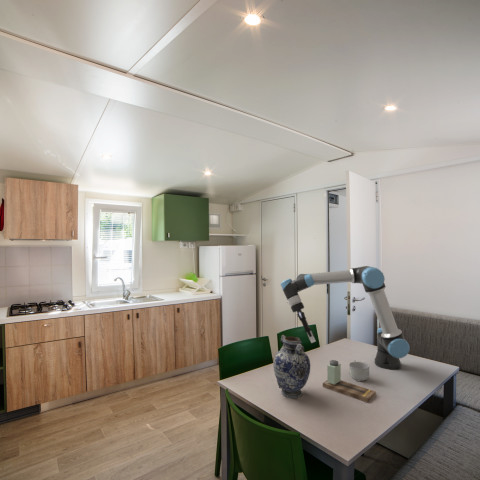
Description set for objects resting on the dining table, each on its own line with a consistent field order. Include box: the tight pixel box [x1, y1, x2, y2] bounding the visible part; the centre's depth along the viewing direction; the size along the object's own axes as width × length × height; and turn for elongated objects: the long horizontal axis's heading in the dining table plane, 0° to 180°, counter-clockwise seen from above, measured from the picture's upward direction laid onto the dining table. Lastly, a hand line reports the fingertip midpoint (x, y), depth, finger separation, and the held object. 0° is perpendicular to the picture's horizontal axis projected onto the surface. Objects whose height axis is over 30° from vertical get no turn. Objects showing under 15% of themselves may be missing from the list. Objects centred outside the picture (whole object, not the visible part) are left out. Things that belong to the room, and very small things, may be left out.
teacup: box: [348, 360, 370, 382], centre depth 179 cm, size 14×11×8 cm
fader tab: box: [327, 359, 342, 385], centre depth 168 cm, size 4×7×11 cm, turn 136°
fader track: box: [322, 379, 377, 403], centre depth 163 cm, size 24×10×2 cm, turn 46°
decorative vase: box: [273, 334, 311, 399], centre depth 161 cm, size 21×19×28 cm
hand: (313, 342), depth 181 cm, fingers closed
